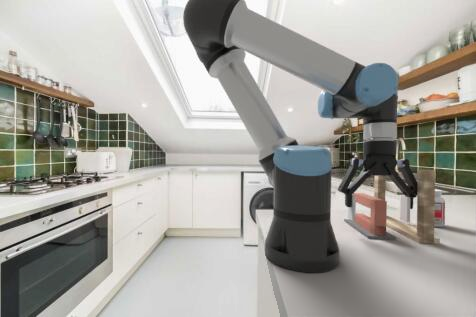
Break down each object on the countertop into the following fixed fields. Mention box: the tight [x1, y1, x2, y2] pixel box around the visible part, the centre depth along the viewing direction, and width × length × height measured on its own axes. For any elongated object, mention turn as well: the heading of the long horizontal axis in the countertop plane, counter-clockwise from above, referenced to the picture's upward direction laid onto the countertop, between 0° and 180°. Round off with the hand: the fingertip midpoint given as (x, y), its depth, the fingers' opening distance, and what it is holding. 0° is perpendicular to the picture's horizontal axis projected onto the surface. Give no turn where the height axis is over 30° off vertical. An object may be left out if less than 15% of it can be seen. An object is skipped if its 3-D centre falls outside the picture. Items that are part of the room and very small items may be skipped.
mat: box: [343, 218, 397, 241], centre depth 65 cm, size 7×16×1 cm, turn 175°
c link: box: [352, 192, 388, 236], centre depth 65 cm, size 13×3×9 cm, turn 175°
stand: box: [369, 169, 441, 245], centre depth 66 cm, size 5×23×18 cm, turn 175°
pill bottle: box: [434, 189, 446, 228], centre depth 70 cm, size 6×6×11 cm
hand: (378, 220), depth 59 cm, fingers open, 13 cm apart
